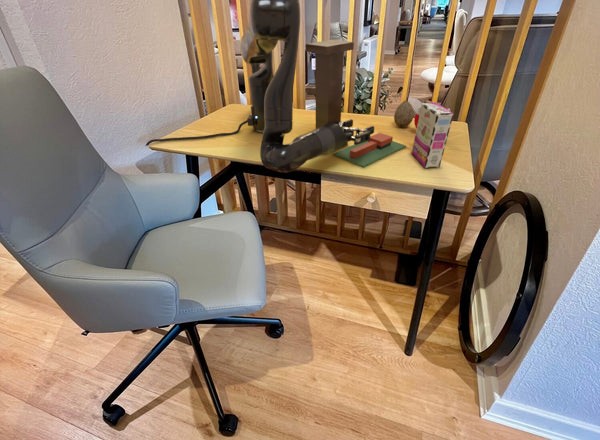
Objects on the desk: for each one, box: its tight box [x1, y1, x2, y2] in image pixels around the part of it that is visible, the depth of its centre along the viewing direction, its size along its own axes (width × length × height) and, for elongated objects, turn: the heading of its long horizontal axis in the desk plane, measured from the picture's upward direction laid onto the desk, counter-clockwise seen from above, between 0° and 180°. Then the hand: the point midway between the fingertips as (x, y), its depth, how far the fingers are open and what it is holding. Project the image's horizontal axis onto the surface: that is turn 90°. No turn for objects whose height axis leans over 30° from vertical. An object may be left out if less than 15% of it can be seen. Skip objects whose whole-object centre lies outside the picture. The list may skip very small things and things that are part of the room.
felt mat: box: [333, 140, 407, 168], centre depth 105 cm, size 22×13×1 cm, turn 130°
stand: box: [305, 39, 355, 156], centre depth 100 cm, size 11×9×32 cm
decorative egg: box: [393, 100, 415, 128], centre depth 119 cm, size 7×7×10 cm
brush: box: [350, 132, 394, 159], centre depth 103 cm, size 17×6×3 cm, turn 130°
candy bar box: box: [411, 102, 455, 169], centre depth 93 cm, size 11×5×16 cm, turn 5°
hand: (362, 125), depth 96 cm, fingers open, 8 cm apart
